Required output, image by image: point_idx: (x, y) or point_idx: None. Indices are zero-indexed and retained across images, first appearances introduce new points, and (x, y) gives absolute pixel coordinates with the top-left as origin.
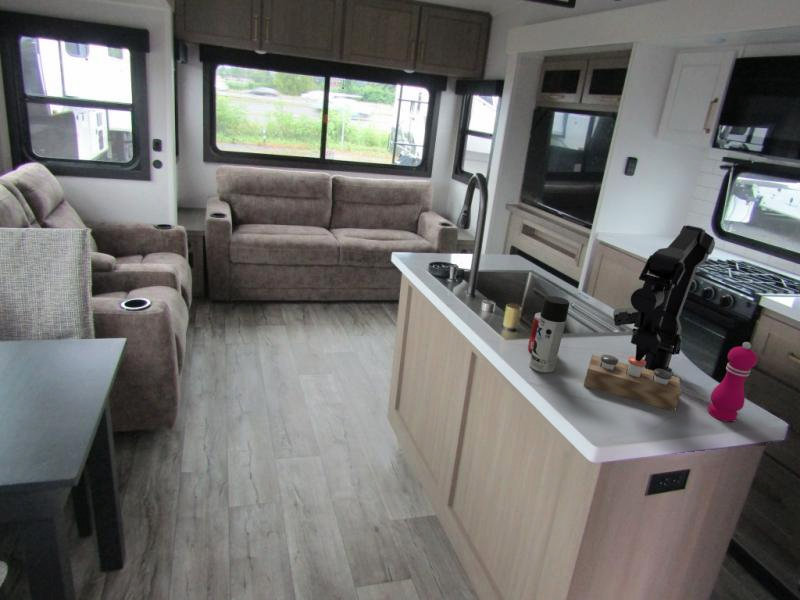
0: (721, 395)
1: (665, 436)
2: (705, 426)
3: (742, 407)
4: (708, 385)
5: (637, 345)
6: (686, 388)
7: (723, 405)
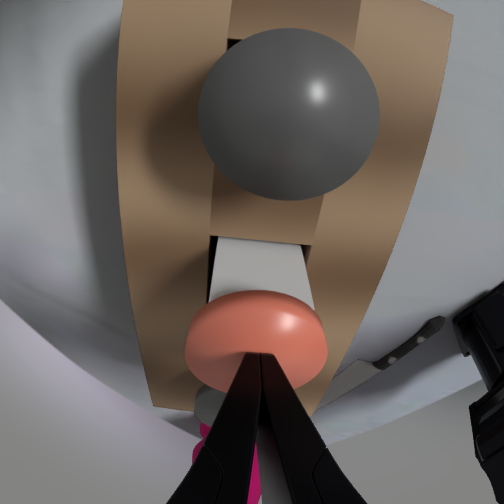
0: None
1: (3, 297)
2: (138, 388)
3: None
4: (395, 408)
5: (172, 496)
6: (359, 383)
7: (194, 450)
